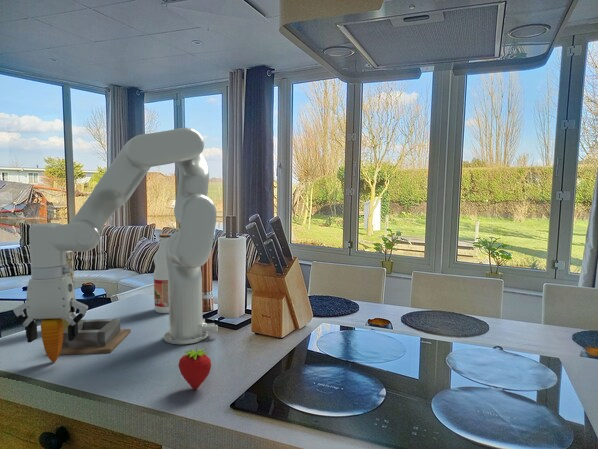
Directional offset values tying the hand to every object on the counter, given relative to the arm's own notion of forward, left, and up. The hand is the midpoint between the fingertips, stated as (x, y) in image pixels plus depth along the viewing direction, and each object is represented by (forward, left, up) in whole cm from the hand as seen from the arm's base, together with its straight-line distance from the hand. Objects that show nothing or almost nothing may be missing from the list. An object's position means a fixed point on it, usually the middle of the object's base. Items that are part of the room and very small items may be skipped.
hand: (52, 339), depth 100 cm
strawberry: (-38, +17, -6) cm, 42 cm away
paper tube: (+10, -26, -6) cm, 28 cm away
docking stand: (-4, -13, -6) cm, 15 cm away
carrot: (0, 0, -6) cm, 6 cm away
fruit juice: (-18, -44, -6) cm, 48 cm away
